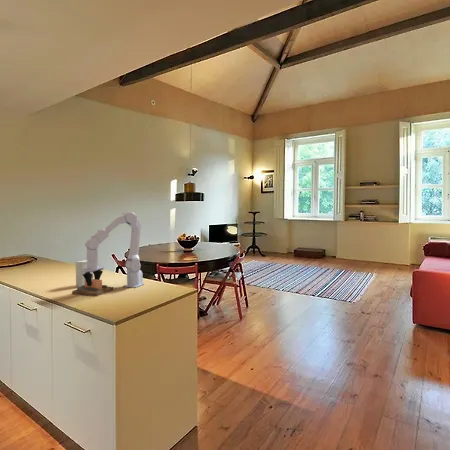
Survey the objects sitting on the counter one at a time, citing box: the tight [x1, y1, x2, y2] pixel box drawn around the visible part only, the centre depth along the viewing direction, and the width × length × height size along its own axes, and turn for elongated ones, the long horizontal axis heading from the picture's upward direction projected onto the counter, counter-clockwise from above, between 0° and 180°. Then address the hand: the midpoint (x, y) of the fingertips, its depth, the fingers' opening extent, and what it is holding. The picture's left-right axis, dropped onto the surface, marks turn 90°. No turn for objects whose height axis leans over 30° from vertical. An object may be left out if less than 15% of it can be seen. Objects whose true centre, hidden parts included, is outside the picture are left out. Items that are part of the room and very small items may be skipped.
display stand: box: [71, 284, 114, 297], centre depth 184 cm, size 14×16×3 cm
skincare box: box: [75, 259, 94, 287], centre depth 198 cm, size 8×6×15 cm
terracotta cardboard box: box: [84, 278, 103, 290], centre depth 184 cm, size 4×9×5 cm, turn 65°
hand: (93, 284), depth 184 cm, fingers open, 5 cm apart
